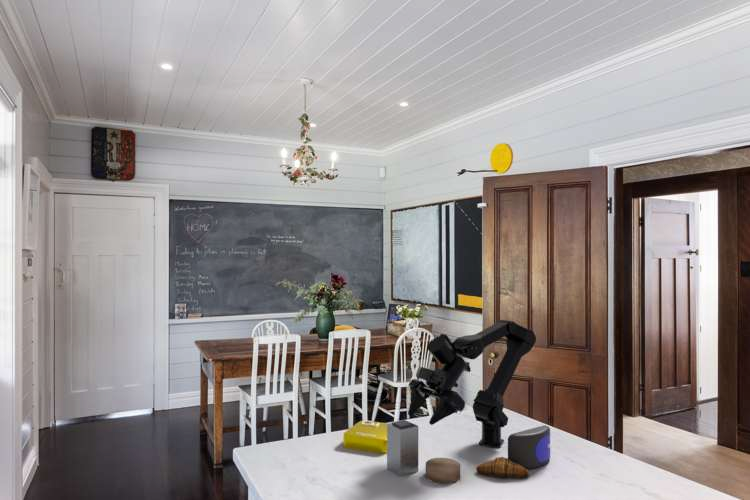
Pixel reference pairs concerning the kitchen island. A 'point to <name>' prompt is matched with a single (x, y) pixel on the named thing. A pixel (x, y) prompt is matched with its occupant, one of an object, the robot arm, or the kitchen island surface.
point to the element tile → (367, 437)
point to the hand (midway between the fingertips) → (419, 419)
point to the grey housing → (402, 447)
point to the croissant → (502, 469)
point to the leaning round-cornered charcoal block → (530, 447)
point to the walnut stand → (443, 470)
